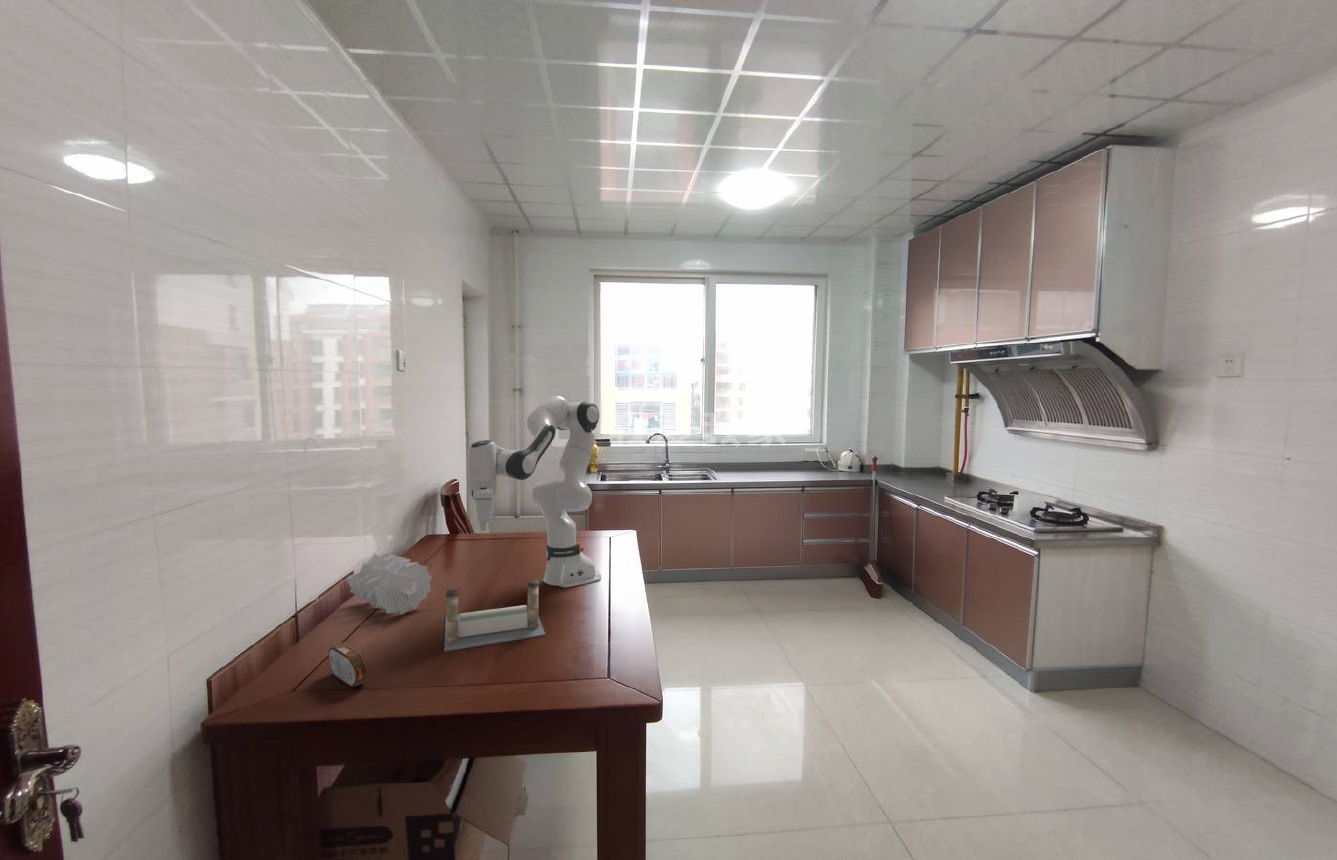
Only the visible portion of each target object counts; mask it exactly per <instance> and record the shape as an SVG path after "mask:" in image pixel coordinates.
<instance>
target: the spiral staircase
mask: <svg viewBox="0 0 1337 860" xmlns="http://www.w3.org/2000/svg"><path fill="white" fill-rule="evenodd" d="M432 579H433V576H432V575H431V574H430V573H429V571H428V566H426V565H421V564H419V562H418V561H416V562H411V559H410V558H409V559H407V557H401V556H400V555H396V554H394V555H393V554H390V552H389V551H387V552H384V553H381V554H378V555H377V553H376V554H375V553H374V554H373V556H371V558H369V559H368V560H367V561H366V562H363V563H362V565H361V569H360V570H359V571H358V572H356V573H354V574H353V575H351V576H349V577H347V578H346V580H347V582H348V584H349V587H350V591H349V592H350V593H352V594H354V595H355V596H358V597H359V601H368V602H369V605H370V606H372V605H375V607H374V608H375V609H385V610H386V611H385V614H396V613H397V614H398V613H399V615H400V616H402V615H404V614H405V613H407V612H408V611H410V610H412V609H414V610H416V609H417V608H418V606H419V605H420V603H421V602H422V600H423V599H427V597H428V594H429V593H430V592H432V590H431V580H432ZM428 592H429V593H428Z"/></svg>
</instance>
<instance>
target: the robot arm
mask: <svg viewBox="0 0 1337 860" xmlns="http://www.w3.org/2000/svg"><path fill="white" fill-rule="evenodd" d="M599 420H600V412H599V408H598V406H597V405H596V404H595V403H593V402H590V401H582V402H581V401H576V402H570V403H568V401H567V400H566V399H565V398H564V397H562V396H560V395H551V396H550V397H549V398H547V399H545V400H544V401H543V402H541V403H540V404H539V405H538V406H536V407H535V409H534V410H532V411H531V413H530V414H529V415H528V417H527V420H526V426H527V429H528V431H529V432H530V434H531V435H532V436H533V438H532V439H531V441H530V442H529V443H528V444H527V446H526V447H525V448H521V449H510V448H509V449H508V448H505V447H502V446H499V445H498V444H496V443H495V442H494V441H493V440H491V439H487V440H486V439H485V440H479V441H476V442H473V443H472V444H470V447H469V450H468V458H467V459H468V462H467V464H468V465H467V466H468V471H469V477H468V495H469V496H471V497H472V500H473V501H474V502H475V509H476V510H475V511H476V515H477V516H476V517H477V521H478V523H479V529H480V531H486V530H487V523H488V522H490V521H491V518H492V509H493V499H495V495H496V494H497V477H498V476H499V477H502V478H503V477H505V478H510V479H511V478H512V479H516V480H519V481H524V480H528V478H530V477H531V476H532V475H533V473H534V472H535V470H536V469H537V468H536V467H537V466H538V463H539V461H540V460H541V458H542V457H543V455H544V454H545V452H546V451H547V450H548V448H549V447H550V445H551V444H552V443H553V441H554V439H555V437H556V432H557V430H560V431H569V438H568V440H567V442H566V443H565V444H566V445H565V446H564V450H563V452H562V455H561V457H560V460H559V464H558V465H559V470H560V471H561V472H562V473H563V474H564V479H563V481H558V480H557V481H556V480H545V481H539V482H537V483H536V484H535V485H534V487H533V489H532V493H531V496H532V500H533V503H534V504H535V505H536V506H537V507H538V508H539V509H540V511H541V513H542V515H543V517H544V521H545V523H546V530H547V531H546V533H547V535H546V536H547V544H546V548H545V558H546V567H545V573H544V576H543V579H542V580H543V581H542V582H543V583H545V584H547V585H549V586H554V587H555V586H558V587H560V588H570V587H576V586H580V585H585V584H589V583H595V582H599V581H601V580H602V574H601V572H600V571H599V570H597V569H596V566H595V562H594V561H593V560H592V559H591V558H590V557H589V556H587V555H586V554H584V553H583V552H584V551H585V547H584V546H583V545H581V543H578V542H577V525H576V523H575V521H574V520H573V519H572V518H571V517H570V516H569V515H568V513H567V512H581V511H586V510H587V509H589V507H590V506H591V504H592V502H593V494H592V490H591V489H590V487H589V486H588V484H587V481H586V476H587V469H588V467H589V462H590V460H591V457H592V453H593V451H594V446H595V440H596V439H595V438H596V435H595V433H594V431H595V429H596V428H597V424H598V423H599Z"/></svg>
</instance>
